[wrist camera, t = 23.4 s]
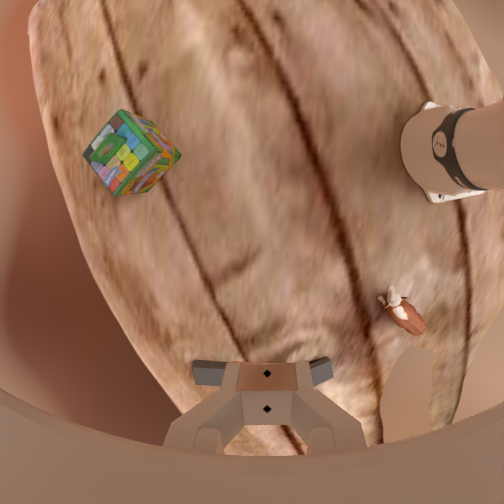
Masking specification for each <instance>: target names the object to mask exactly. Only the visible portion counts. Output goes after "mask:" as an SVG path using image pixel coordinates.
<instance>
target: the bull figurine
mask: <svg viewBox="0 0 504 504" xmlns="http://www.w3.org/2000/svg"><path fill="white" fill-rule="evenodd" d="M387 292H388V296H387V300H388V302H386V301H385V300H384V298H383V297H382V295H378V296H377V299H378V300H380V301H381V302H383V305H384V309H385V308H386V311H387V313H388V314H389V316H390V317H391V318H392V319H393V320H394V321H395V322H396V324H397V325H398V326H400V327H402V328H404V329H405V330H406V331H407V332H409V333H411V334H413V335H420V334H424V330H425V327H426V326H425V322H424V320H423V318H422V317H421V315H420V314H419V313H417V311H416V309H415V308H414V307H413V306H412V305H411V304H409V303H408V302H407V301H405V300H406V299H408V298H407V297H401V296H400V294H399V293H398V292H397V291H396V290H395V289H394V286H393V285H390V286H388V287H387Z"/></svg>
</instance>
